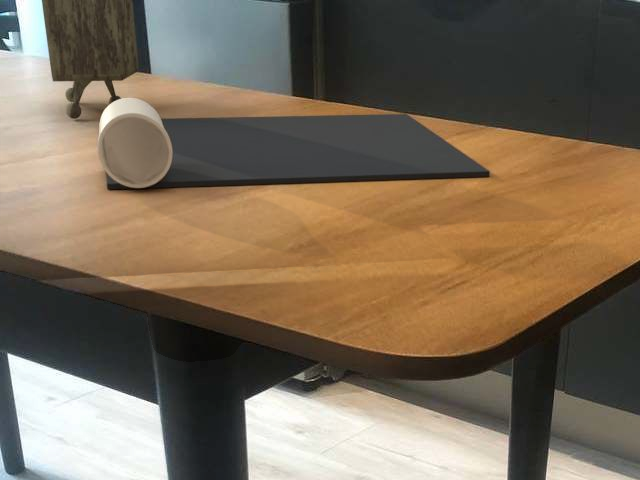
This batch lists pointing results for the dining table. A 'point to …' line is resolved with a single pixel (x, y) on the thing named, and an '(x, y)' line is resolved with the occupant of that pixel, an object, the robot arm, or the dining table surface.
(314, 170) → the mat
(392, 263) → the dining table surface
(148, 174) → the cap
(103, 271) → the dining table surface
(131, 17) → the tabletop clock
